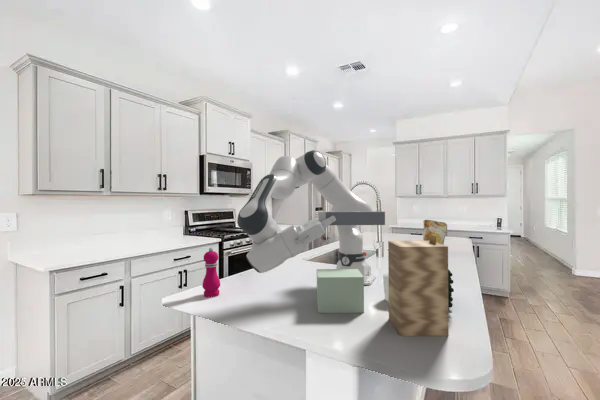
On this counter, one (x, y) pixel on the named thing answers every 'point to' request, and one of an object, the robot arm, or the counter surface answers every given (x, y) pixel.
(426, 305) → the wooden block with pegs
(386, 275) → the white cup
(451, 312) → the counter surface
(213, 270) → the pepper mill
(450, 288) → the toy figurine
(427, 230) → the pancake mix bag
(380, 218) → the bar
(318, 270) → the green platform
